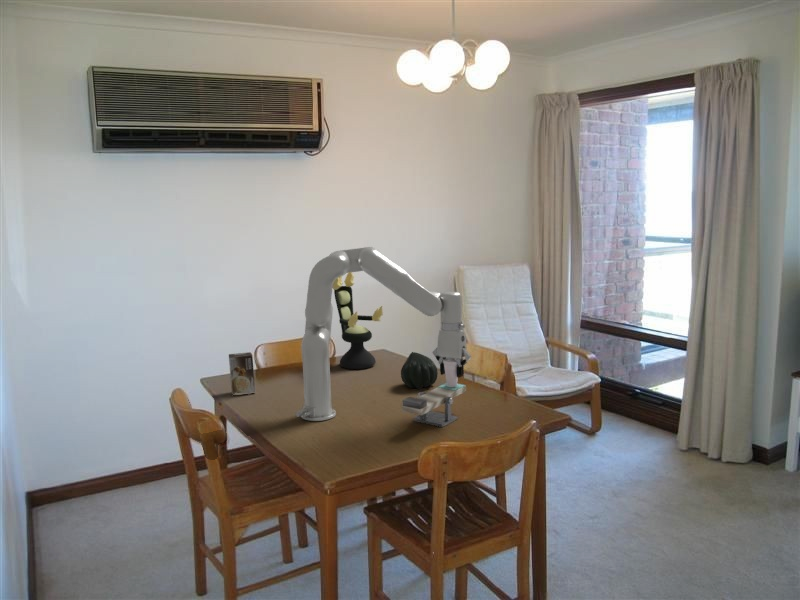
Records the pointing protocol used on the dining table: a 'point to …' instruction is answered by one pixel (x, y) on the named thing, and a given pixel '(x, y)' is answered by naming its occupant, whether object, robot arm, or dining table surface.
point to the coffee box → (241, 373)
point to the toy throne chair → (353, 326)
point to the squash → (418, 371)
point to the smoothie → (450, 371)
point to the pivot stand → (437, 415)
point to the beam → (431, 399)
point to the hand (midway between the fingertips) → (451, 374)
